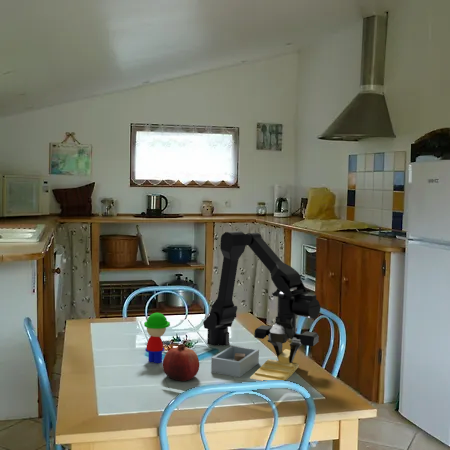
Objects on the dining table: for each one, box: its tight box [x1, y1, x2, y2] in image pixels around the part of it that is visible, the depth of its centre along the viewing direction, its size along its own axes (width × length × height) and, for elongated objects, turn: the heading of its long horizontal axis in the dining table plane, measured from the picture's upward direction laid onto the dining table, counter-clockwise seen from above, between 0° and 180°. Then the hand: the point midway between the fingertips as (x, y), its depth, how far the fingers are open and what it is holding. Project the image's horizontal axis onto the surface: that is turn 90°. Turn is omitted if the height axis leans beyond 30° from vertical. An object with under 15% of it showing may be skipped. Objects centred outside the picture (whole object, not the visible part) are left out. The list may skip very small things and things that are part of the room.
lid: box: [249, 348, 300, 382], centre depth 169 cm, size 20×10×2 cm, turn 154°
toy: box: [143, 312, 171, 364], centre depth 177 cm, size 8×8×15 cm
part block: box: [235, 353, 245, 361], centre depth 173 cm, size 3×3×3 cm
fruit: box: [162, 343, 200, 382], centre depth 161 cm, size 11×10×10 cm
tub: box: [210, 345, 260, 378], centre depth 171 cm, size 14×9×5 cm, turn 154°
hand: (285, 363), depth 174 cm, fingers closed on lid, 3 cm apart
